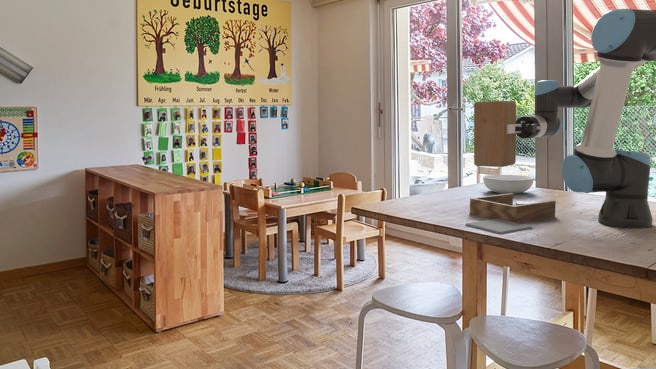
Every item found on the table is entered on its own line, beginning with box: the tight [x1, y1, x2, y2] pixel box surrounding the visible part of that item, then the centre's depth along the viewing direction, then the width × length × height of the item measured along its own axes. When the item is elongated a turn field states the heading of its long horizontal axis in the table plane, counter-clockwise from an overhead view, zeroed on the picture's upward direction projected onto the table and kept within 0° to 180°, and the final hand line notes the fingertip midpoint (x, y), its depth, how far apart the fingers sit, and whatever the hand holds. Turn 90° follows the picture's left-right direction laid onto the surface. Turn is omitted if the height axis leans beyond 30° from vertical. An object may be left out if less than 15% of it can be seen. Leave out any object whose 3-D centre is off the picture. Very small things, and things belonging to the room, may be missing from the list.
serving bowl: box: [482, 174, 535, 195], centre depth 236 cm, size 21×21×7 cm
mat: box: [465, 219, 533, 235], centre depth 170 cm, size 14×14×1 cm
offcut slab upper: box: [515, 201, 538, 206], centre depth 190 cm, size 8×4×2 cm, turn 77°
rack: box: [469, 193, 557, 224], centre depth 187 cm, size 19×20×6 cm
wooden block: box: [473, 100, 517, 168], centre depth 171 cm, size 10×10×20 cm
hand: (491, 128), depth 170 cm, fingers closed on wooden block, 11 cm apart
